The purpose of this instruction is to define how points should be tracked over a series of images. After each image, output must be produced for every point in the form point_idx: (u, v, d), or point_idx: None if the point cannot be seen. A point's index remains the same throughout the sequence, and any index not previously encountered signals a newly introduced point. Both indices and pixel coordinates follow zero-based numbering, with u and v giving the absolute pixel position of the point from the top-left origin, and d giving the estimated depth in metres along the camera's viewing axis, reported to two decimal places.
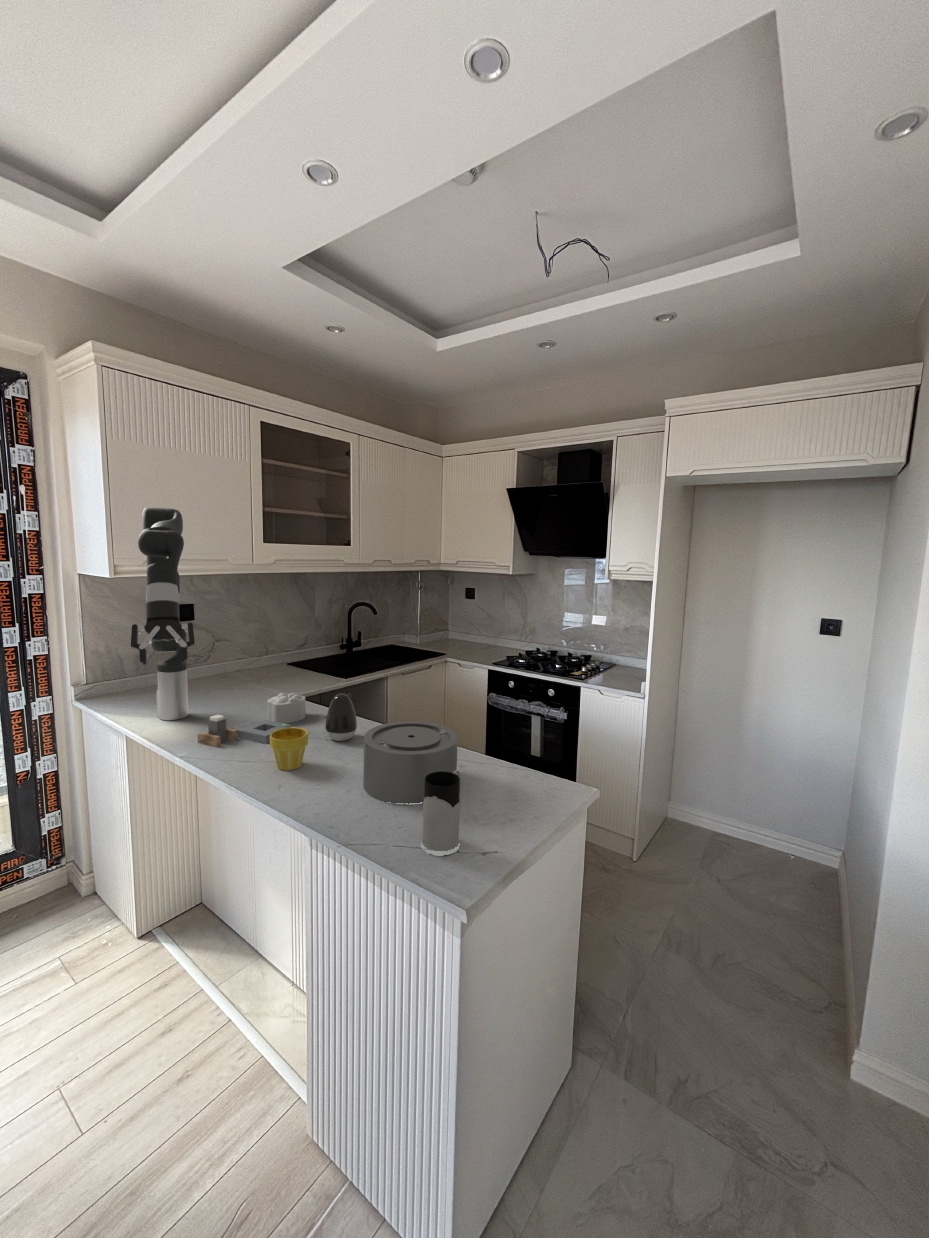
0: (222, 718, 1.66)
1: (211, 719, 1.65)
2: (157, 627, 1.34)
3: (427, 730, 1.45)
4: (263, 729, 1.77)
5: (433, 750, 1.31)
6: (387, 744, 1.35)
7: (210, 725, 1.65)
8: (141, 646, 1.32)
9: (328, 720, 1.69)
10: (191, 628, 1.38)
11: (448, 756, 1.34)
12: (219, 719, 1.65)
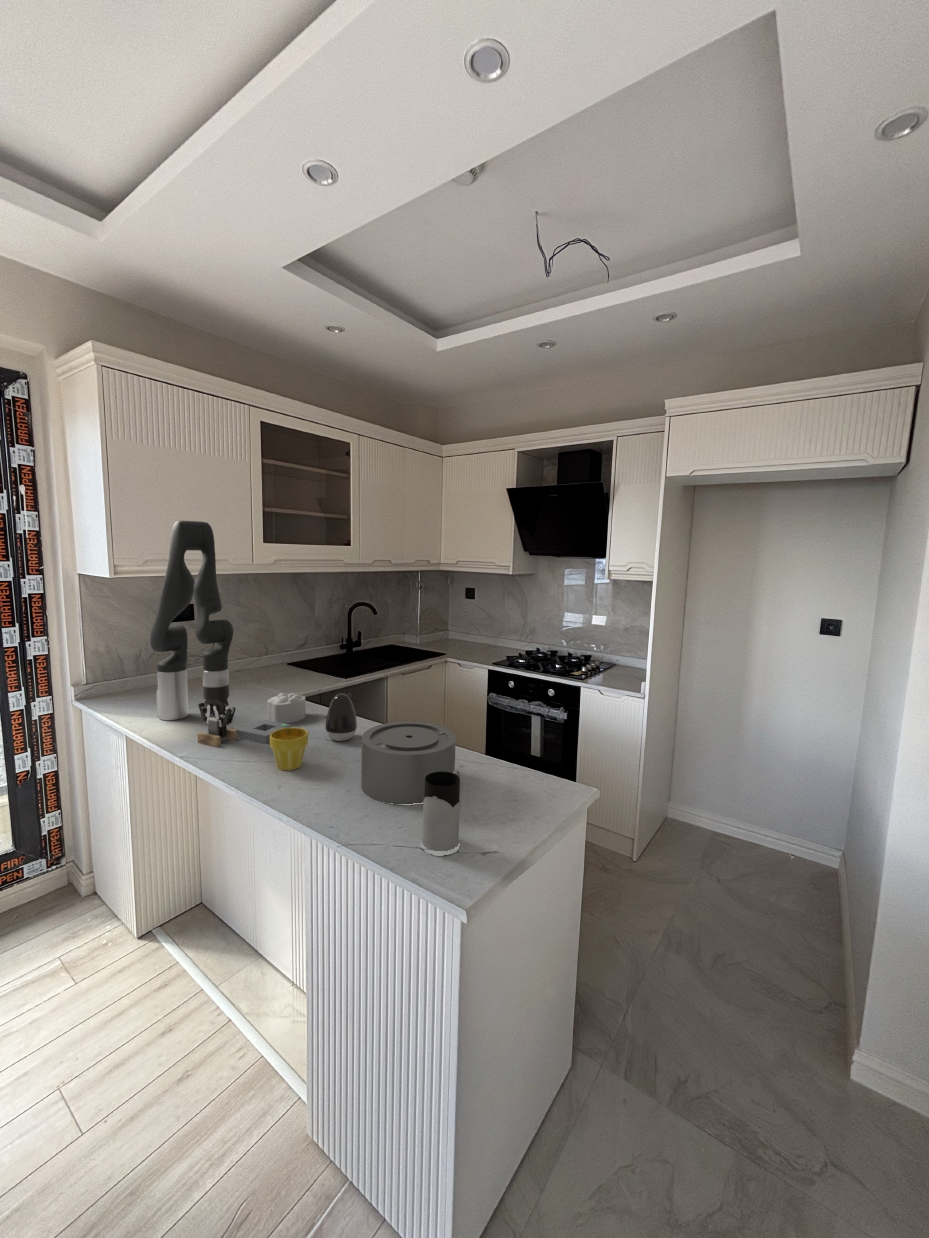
0: (222, 718, 1.66)
1: (211, 719, 1.65)
2: (208, 705, 1.64)
3: (425, 730, 1.45)
4: (263, 729, 1.77)
5: (431, 750, 1.31)
6: (385, 744, 1.35)
7: (210, 725, 1.65)
8: (207, 721, 1.66)
9: (328, 720, 1.69)
10: (227, 714, 1.63)
11: (446, 757, 1.34)
12: None
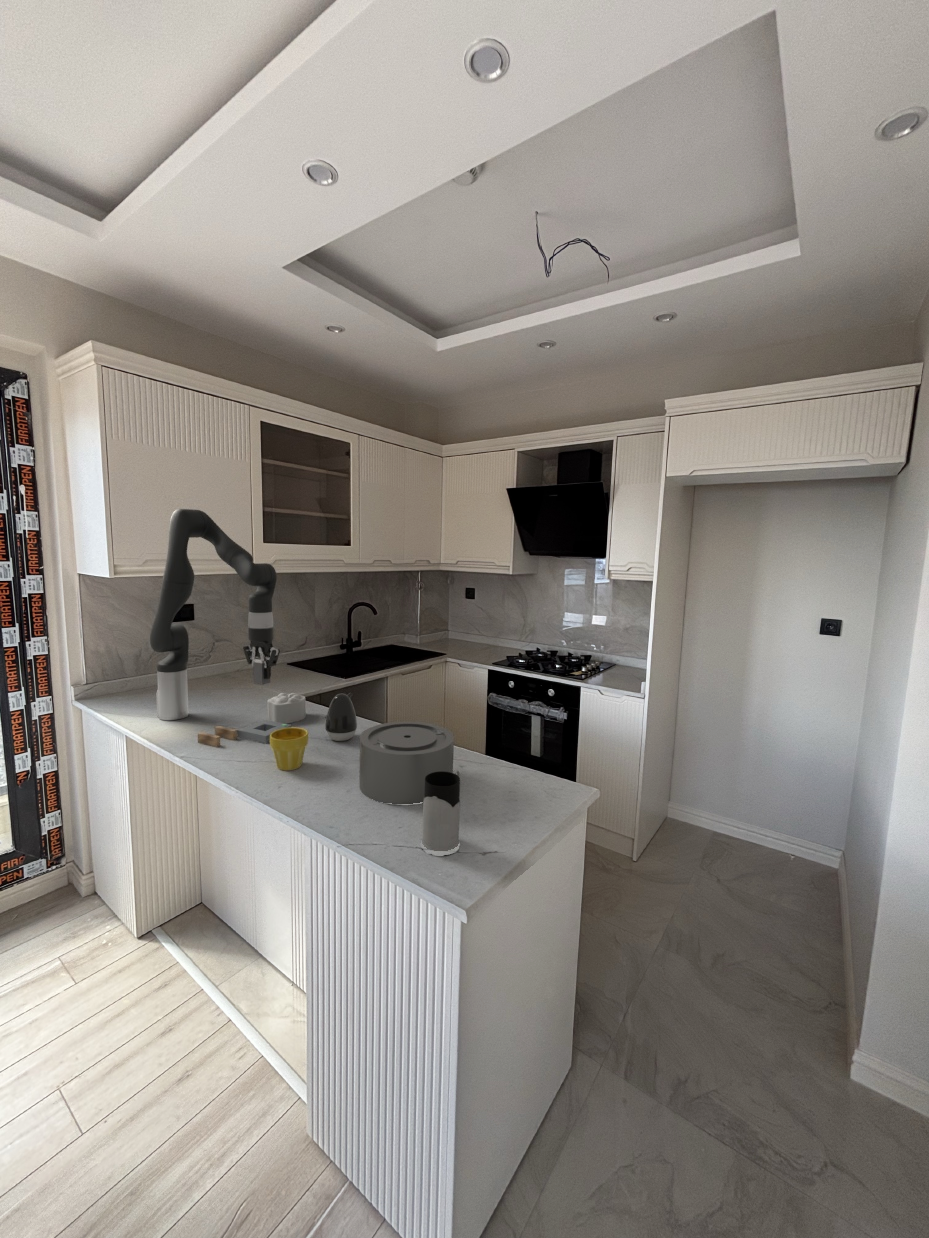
0: None
1: (256, 661, 1.69)
2: (253, 647, 1.68)
3: (424, 730, 1.45)
4: (263, 729, 1.77)
5: (428, 750, 1.31)
6: (383, 744, 1.35)
7: (255, 667, 1.69)
8: (252, 664, 1.70)
9: (328, 720, 1.69)
10: (272, 655, 1.66)
11: (444, 757, 1.34)
12: None
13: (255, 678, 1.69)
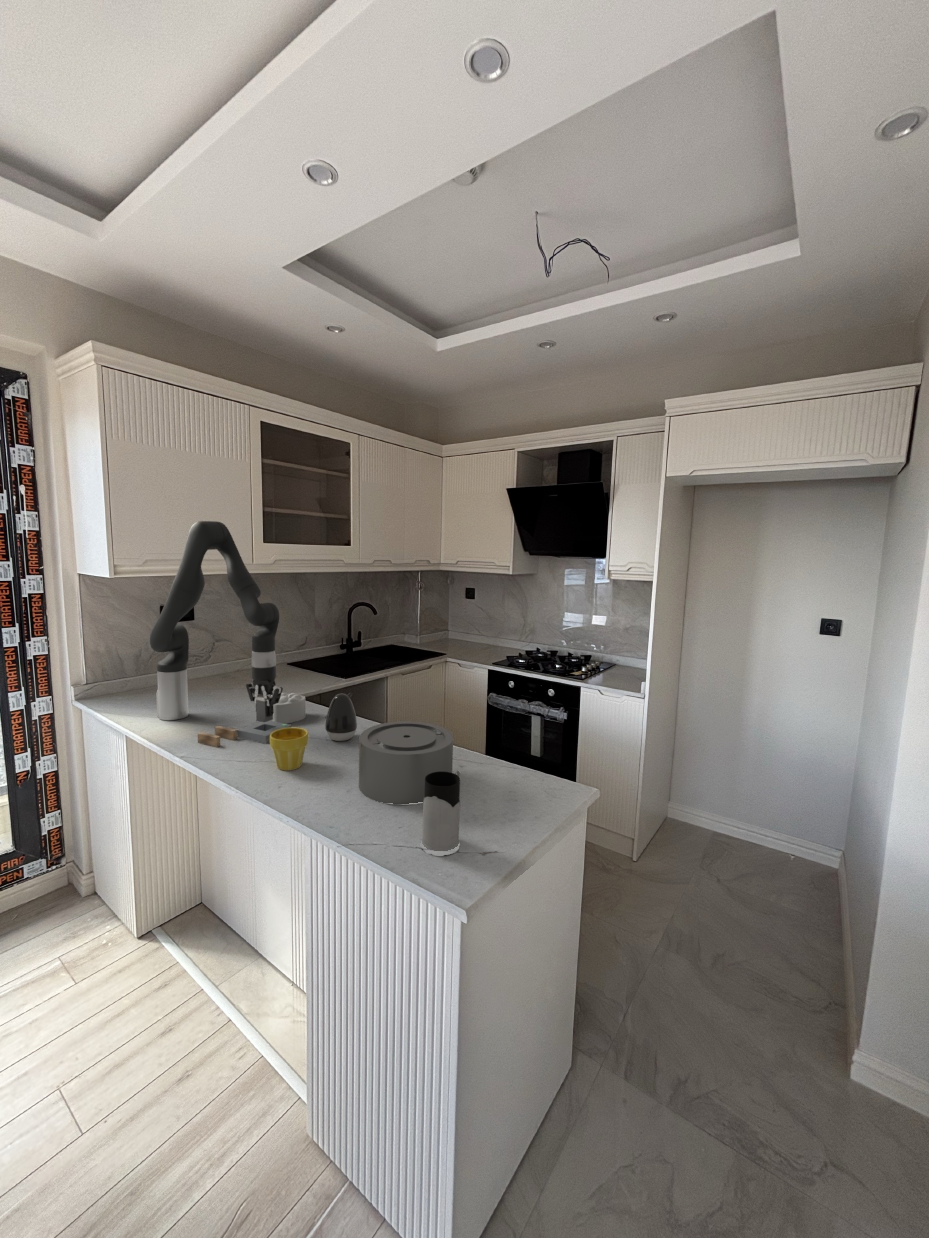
0: None
1: (259, 699, 1.71)
2: (256, 686, 1.70)
3: (423, 730, 1.45)
4: (263, 729, 1.77)
5: (427, 750, 1.31)
6: (382, 744, 1.35)
7: (258, 705, 1.71)
8: (255, 701, 1.72)
9: (328, 720, 1.69)
10: (275, 693, 1.69)
11: (443, 757, 1.34)
12: None
13: (257, 715, 1.72)
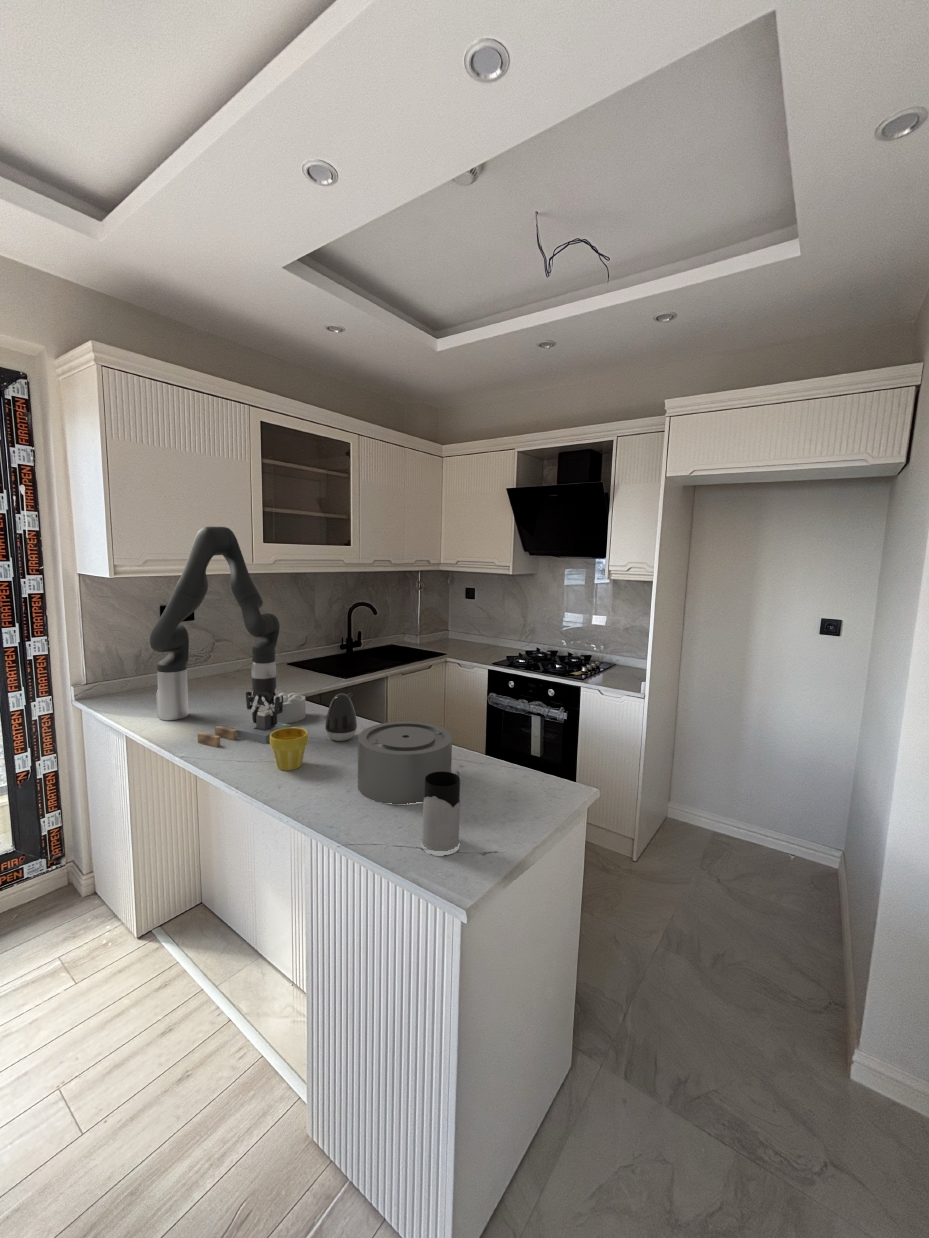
0: (269, 713, 1.73)
1: (259, 714, 1.72)
2: (257, 696, 1.71)
3: (422, 730, 1.45)
4: None
5: (426, 750, 1.31)
6: (381, 744, 1.35)
7: (258, 719, 1.72)
8: (252, 710, 1.73)
9: (328, 720, 1.69)
10: (276, 702, 1.69)
11: (442, 757, 1.34)
12: (266, 714, 1.72)
13: None
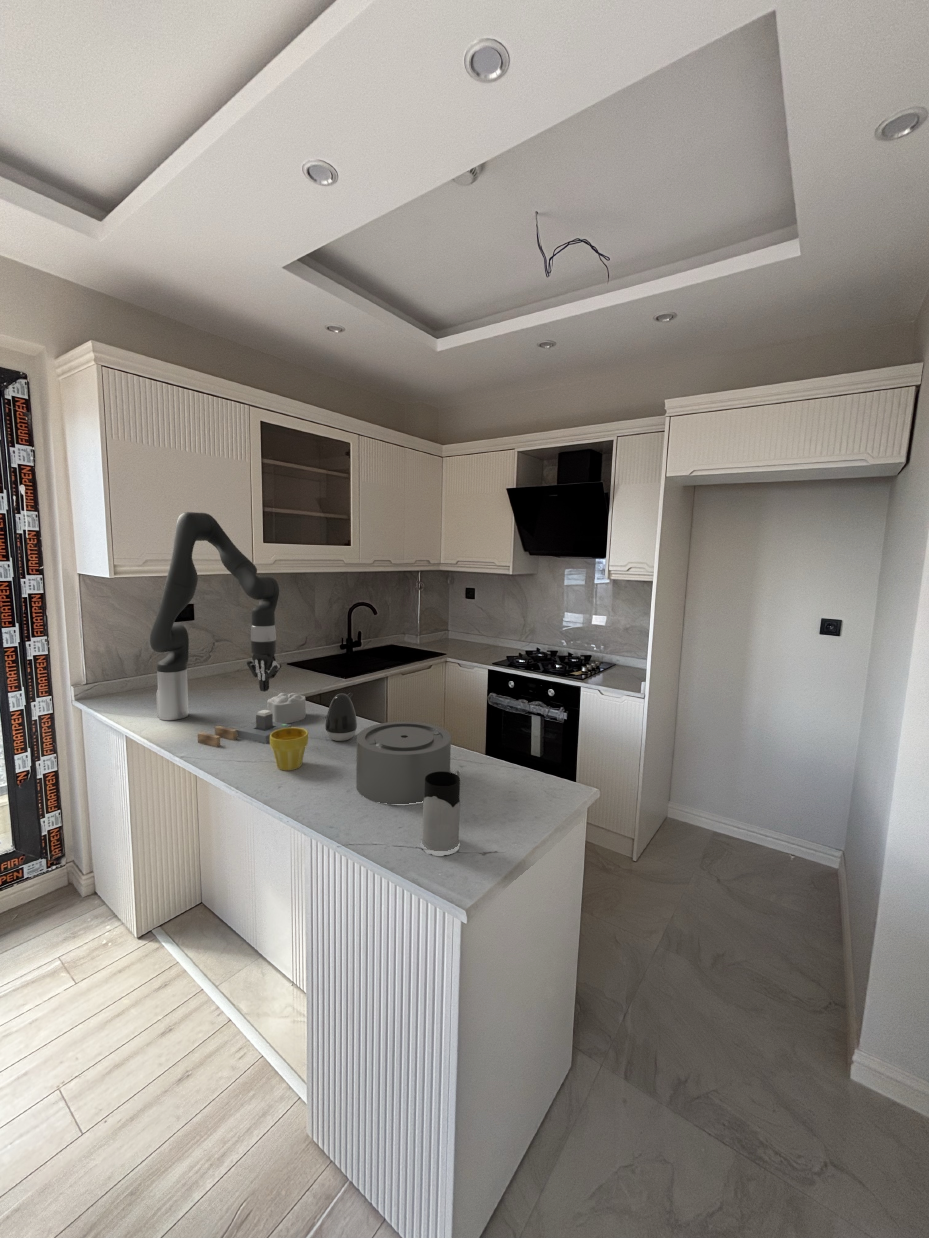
0: (269, 713, 1.73)
1: (259, 714, 1.72)
2: (256, 660, 1.69)
3: (421, 730, 1.45)
4: None
5: (425, 750, 1.31)
6: (379, 744, 1.35)
7: (258, 719, 1.72)
8: (259, 677, 1.70)
9: (328, 720, 1.69)
10: (273, 670, 1.68)
11: (441, 757, 1.33)
12: (266, 714, 1.72)
13: None
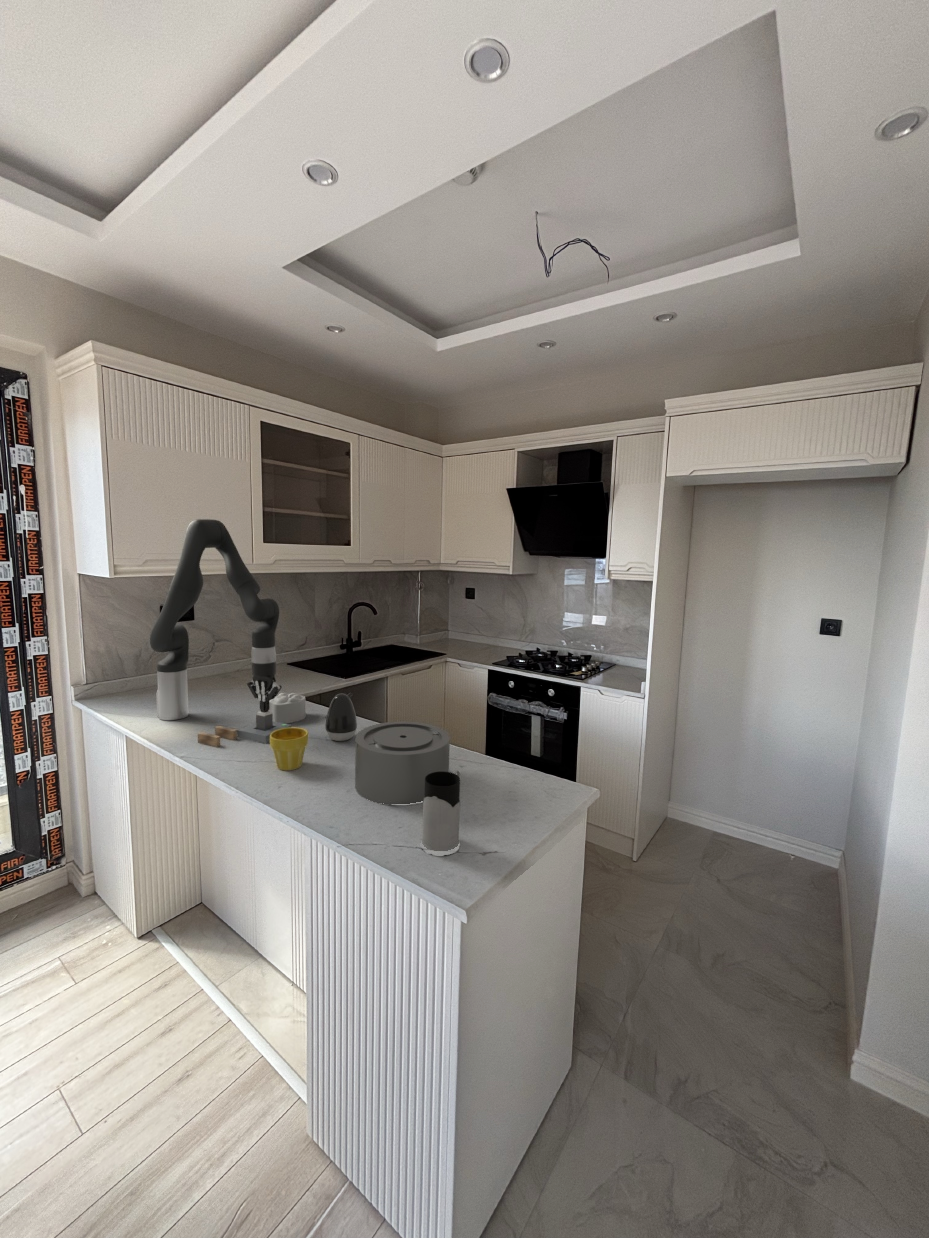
0: (269, 713, 1.73)
1: (259, 714, 1.72)
2: (256, 681, 1.70)
3: (420, 730, 1.45)
4: None
5: (423, 751, 1.31)
6: (378, 744, 1.35)
7: (258, 719, 1.72)
8: (259, 698, 1.71)
9: (328, 720, 1.69)
10: (273, 691, 1.69)
11: (439, 757, 1.33)
12: (266, 714, 1.72)
13: None
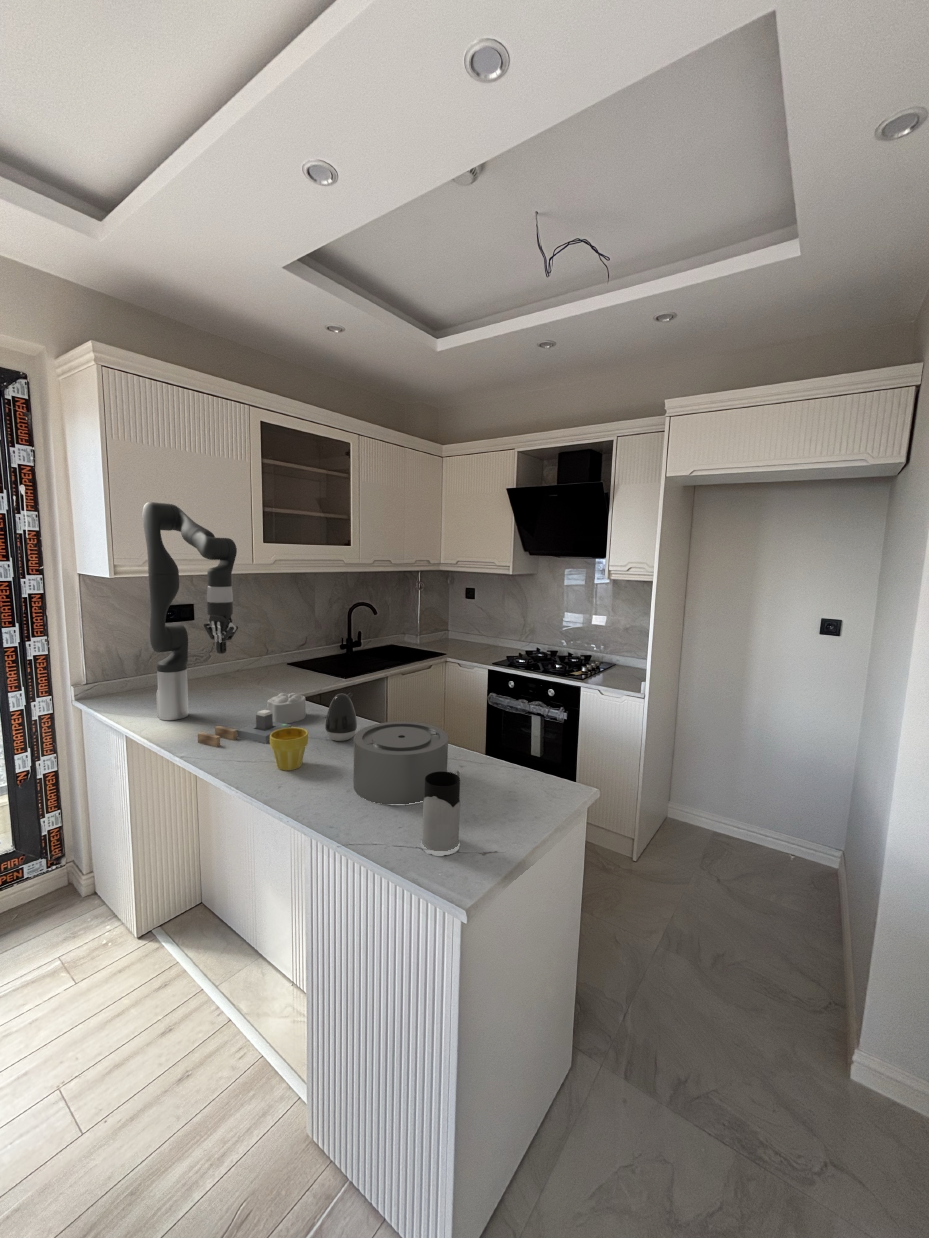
0: (269, 713, 1.73)
1: (259, 714, 1.72)
2: (212, 622, 1.68)
3: (418, 730, 1.45)
4: None
5: (421, 751, 1.31)
6: (376, 744, 1.35)
7: (258, 719, 1.72)
8: (215, 639, 1.69)
9: (328, 720, 1.69)
10: (229, 631, 1.67)
11: (438, 757, 1.33)
12: (266, 714, 1.72)
13: None
